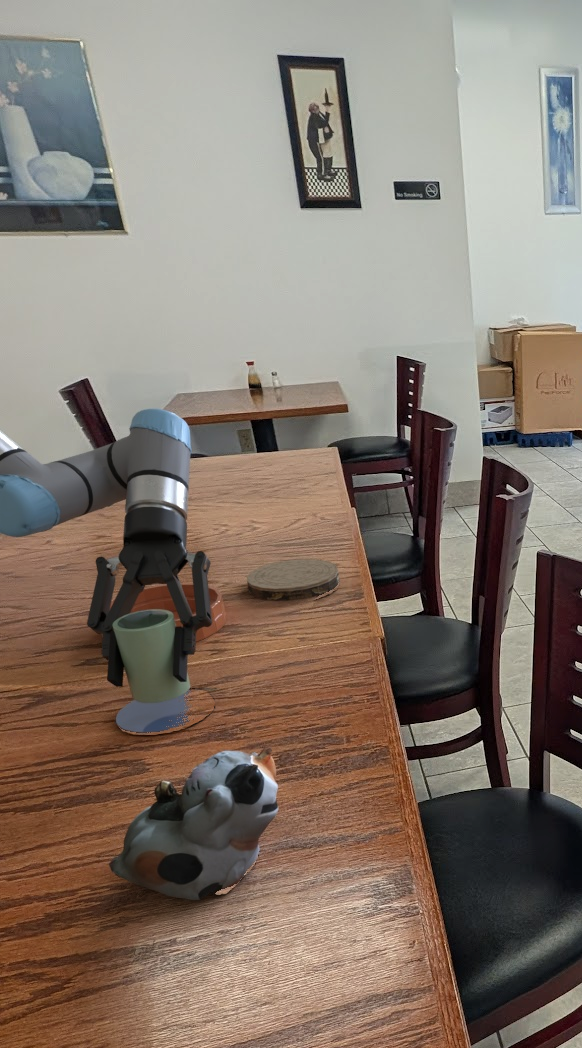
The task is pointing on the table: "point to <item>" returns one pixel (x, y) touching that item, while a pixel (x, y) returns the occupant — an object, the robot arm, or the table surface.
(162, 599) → the bowl
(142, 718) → the coaster
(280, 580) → the wood slice
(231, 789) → the lucky cat figurine
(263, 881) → the table surface
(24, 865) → the table surface
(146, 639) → the cup
